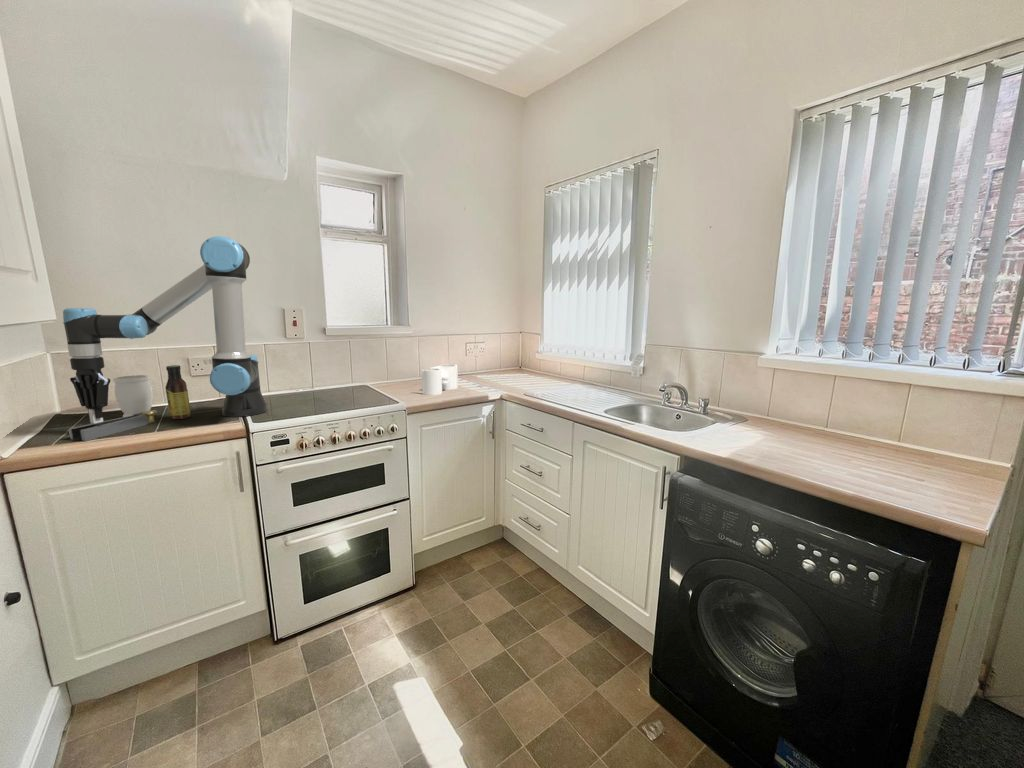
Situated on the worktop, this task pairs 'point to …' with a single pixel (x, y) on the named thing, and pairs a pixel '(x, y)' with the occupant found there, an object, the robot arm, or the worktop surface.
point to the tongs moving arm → (75, 431)
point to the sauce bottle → (177, 394)
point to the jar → (133, 394)
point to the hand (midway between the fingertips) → (97, 427)
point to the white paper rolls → (439, 379)
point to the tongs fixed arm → (115, 427)
